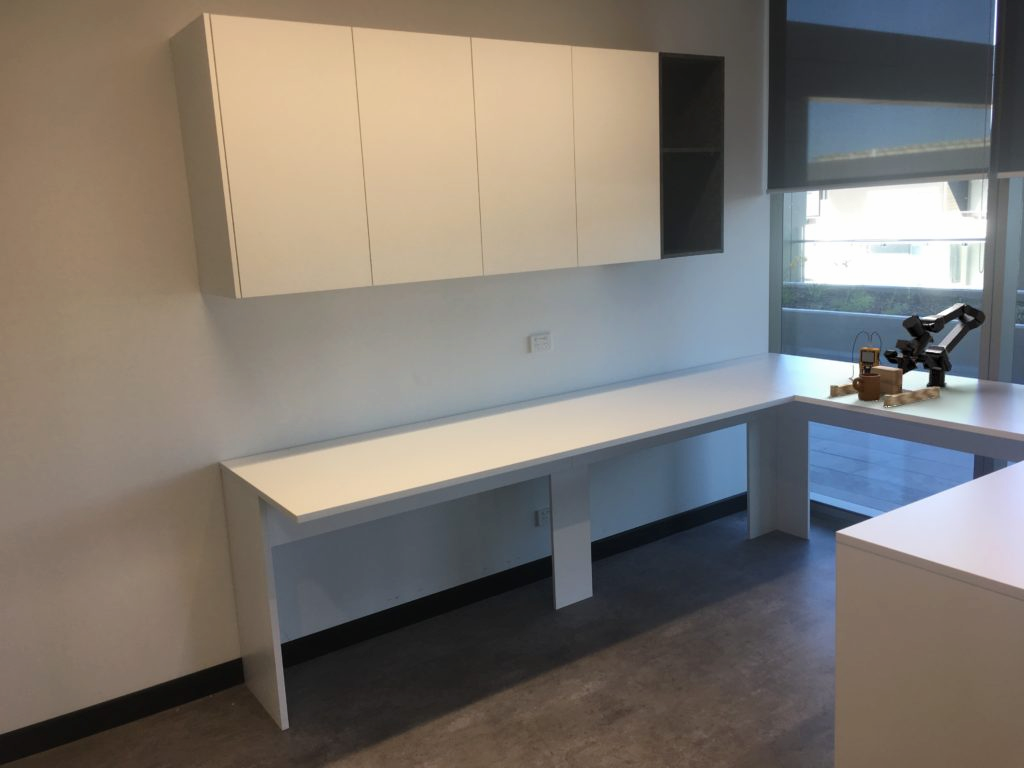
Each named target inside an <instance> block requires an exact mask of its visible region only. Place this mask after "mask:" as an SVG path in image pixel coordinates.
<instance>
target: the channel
mask: <svg viewBox="0 0 1024 768" xmlns="http://www.w3.org/2000/svg"><path fill="white" fill-rule="evenodd" d="M852 383H853V382H848V383H846V384H845V383H844V384H839V385H837V384H831V385H829V387H830V388H829V389H830V390H829V396H830V395H831V396H830V397H833V396H836V397H839V396H838V395H841V396H845V395H844V394H846V395H850V394H851V395H852V394H855V393H858V391H857V390H855V389H854V388H853V385H852ZM857 386H858V382H857ZM938 396H939V397H940V396H941V387H936V386H935V387H934V386H929V387H926V388H921V389H916V390H912V391H910V392H905V393H900V394H896V395H884V396H883V404H882V406H887V407H886V408H889V407H888V406H892V407H895V406H894V405H897V406H900V405H899V404H902V405H906V404H910V402H911V403H915V401H916V402H921V401H925V400H929V399H928V398H930V399H934V398H933V397H935V398H939V397H938ZM924 399H925V400H924ZM920 400H921V401H920ZM905 403H906V404H905Z"/></svg>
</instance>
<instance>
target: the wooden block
mask: <svg viewBox="0 0 1024 768" xmlns="http://www.w3.org/2000/svg"><path fill="white" fill-rule="evenodd" d="M871 373H876V374H880V378H881V384H880V396H883V397H884V395H896V394H900V393H902V389H903V380H904V379H903V377H904V375H903V369H899V368H897V367H891V366H884V365H882V366H881V365H879V366H876V367H871Z"/></svg>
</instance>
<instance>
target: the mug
mask: <svg viewBox="0 0 1024 768" xmlns="http://www.w3.org/2000/svg"><path fill="white" fill-rule="evenodd" d="M857 382H858V386H857ZM851 383H852V385H853V388H854V389H855V390H857V391H858V392H857V398H858V400H860V401H862V400H864V402H877V401H879V400H880V399H881V395H880V384H881V378H880V374H876V373H862V374H859V373H858V376H857V377H855V378H853V380H852V382H851ZM876 400H877V401H876Z"/></svg>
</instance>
